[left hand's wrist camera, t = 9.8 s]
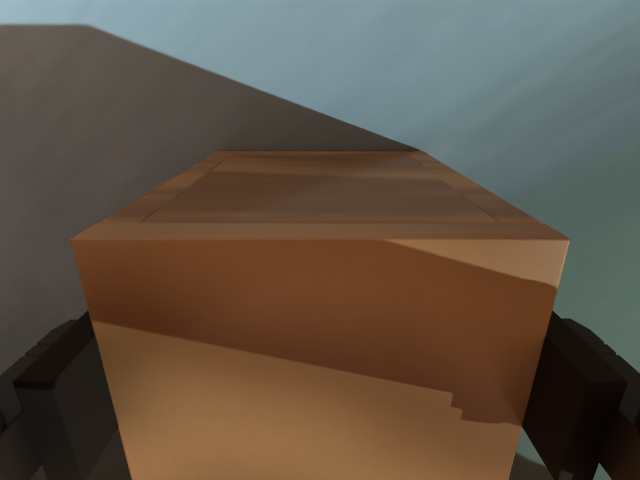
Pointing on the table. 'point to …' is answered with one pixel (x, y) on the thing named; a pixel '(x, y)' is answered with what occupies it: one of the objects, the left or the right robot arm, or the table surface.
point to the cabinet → (320, 319)
